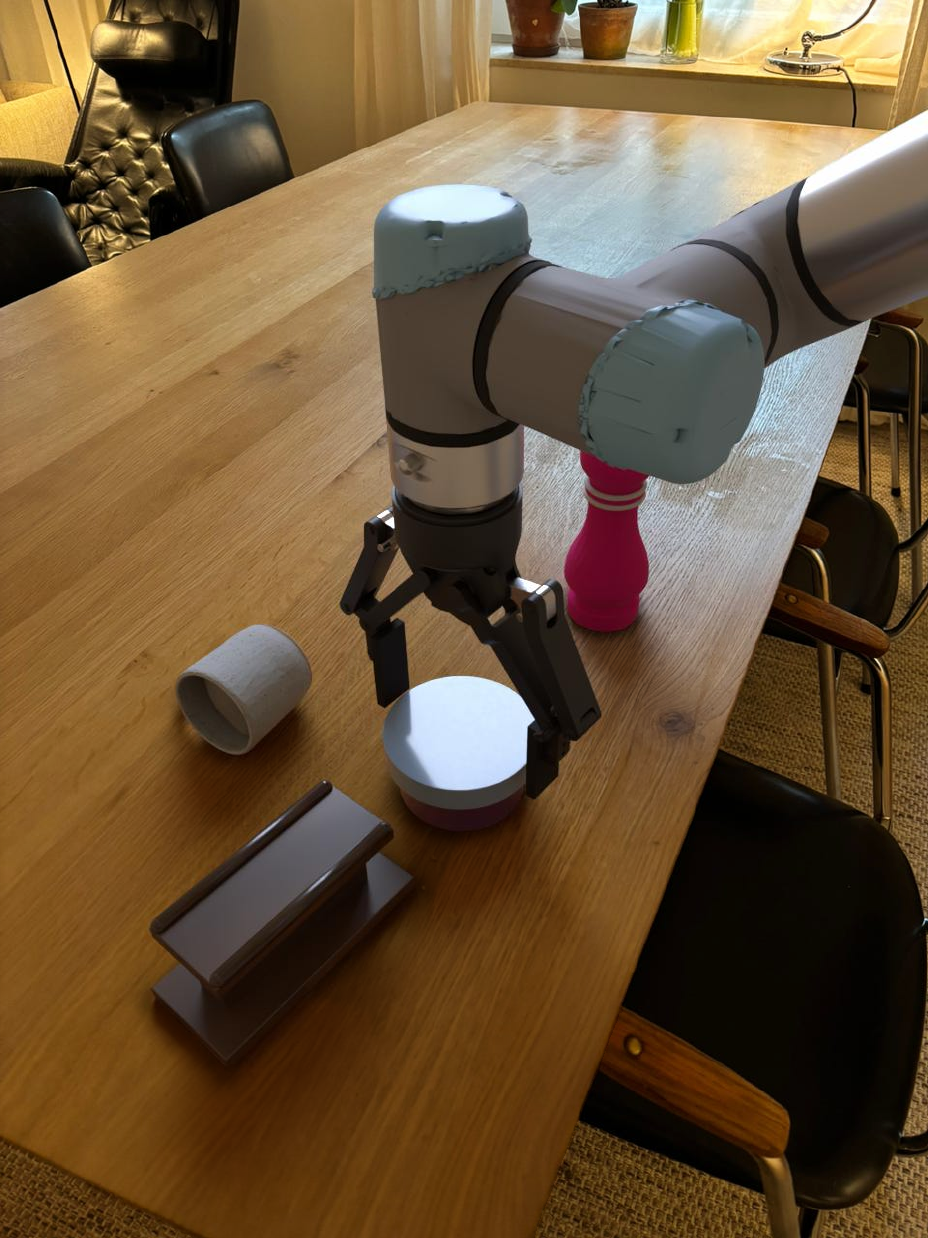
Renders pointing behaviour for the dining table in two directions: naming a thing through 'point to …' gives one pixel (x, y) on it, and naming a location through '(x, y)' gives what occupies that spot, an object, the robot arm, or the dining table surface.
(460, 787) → the side plate
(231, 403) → the dining table surface
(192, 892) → the plate rack
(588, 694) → the robot arm
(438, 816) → the plum stand
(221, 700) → the ceramic mug
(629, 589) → the pepper mill
